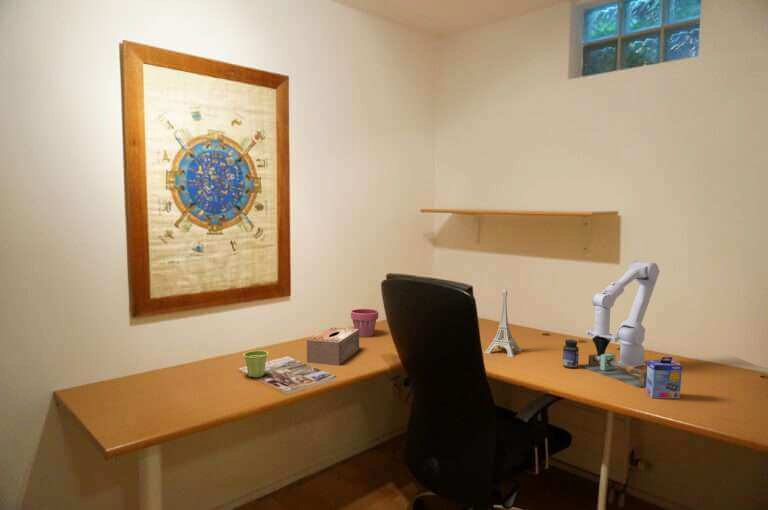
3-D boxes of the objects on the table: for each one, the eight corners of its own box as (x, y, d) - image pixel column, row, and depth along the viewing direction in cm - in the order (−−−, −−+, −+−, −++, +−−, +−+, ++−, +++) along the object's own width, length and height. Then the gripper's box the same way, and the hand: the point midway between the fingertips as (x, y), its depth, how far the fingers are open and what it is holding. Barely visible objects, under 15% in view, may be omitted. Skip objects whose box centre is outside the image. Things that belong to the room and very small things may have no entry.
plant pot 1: (246, 380, 194) (246, 358, 193) (241, 373, 202) (241, 352, 201) (271, 377, 198) (270, 355, 197) (265, 370, 206) (264, 349, 206)
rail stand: (581, 366, 213) (581, 354, 212) (598, 363, 217) (599, 351, 216) (640, 387, 187) (640, 373, 187) (658, 384, 192) (659, 370, 191)
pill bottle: (579, 369, 209) (580, 343, 208) (563, 368, 210) (564, 342, 209) (576, 365, 215) (577, 339, 214) (561, 364, 216) (562, 338, 215)
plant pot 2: (382, 333, 269) (382, 309, 268) (371, 339, 256) (371, 314, 255) (358, 331, 274) (358, 307, 273) (346, 336, 262) (345, 312, 261)
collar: (600, 369, 206) (600, 354, 206) (610, 367, 209) (611, 353, 208) (604, 370, 204) (604, 356, 204) (614, 368, 207) (615, 354, 206)
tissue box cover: (338, 366, 213) (338, 342, 212) (306, 363, 217) (306, 340, 217) (359, 350, 238) (359, 329, 237) (330, 347, 242) (330, 326, 241)
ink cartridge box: (652, 398, 177) (654, 357, 175) (644, 393, 182) (646, 353, 181) (681, 399, 176) (683, 358, 175) (672, 393, 182) (674, 353, 181)
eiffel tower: (513, 357, 226) (514, 290, 223) (484, 353, 233) (485, 288, 230) (521, 350, 237) (523, 286, 235) (494, 346, 244) (495, 284, 242)
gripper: (581, 320, 213) (579, 351, 214) (609, 327, 200) (608, 361, 201) (593, 318, 216) (592, 350, 217) (622, 325, 203) (620, 359, 204)
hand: (600, 355), depth 209 cm, fingers closed
